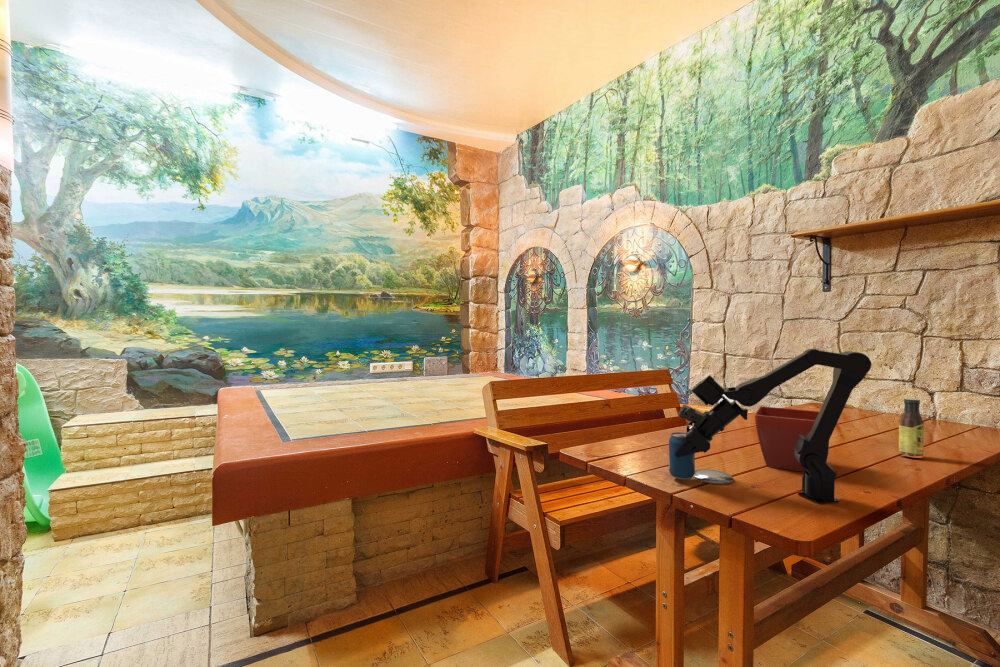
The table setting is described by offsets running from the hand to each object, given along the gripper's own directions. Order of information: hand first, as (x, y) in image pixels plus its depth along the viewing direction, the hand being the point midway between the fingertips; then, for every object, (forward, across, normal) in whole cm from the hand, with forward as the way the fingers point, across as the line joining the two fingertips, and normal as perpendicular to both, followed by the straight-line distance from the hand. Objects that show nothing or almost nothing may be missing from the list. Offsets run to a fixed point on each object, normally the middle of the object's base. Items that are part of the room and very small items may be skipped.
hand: (676, 452), depth 129 cm
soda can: (+4, 0, +6) cm, 7 cm away
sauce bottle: (-45, -57, +58) cm, 93 cm away
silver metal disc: (-1, -6, +12) cm, 14 cm away
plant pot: (-17, -30, +29) cm, 45 cm away
